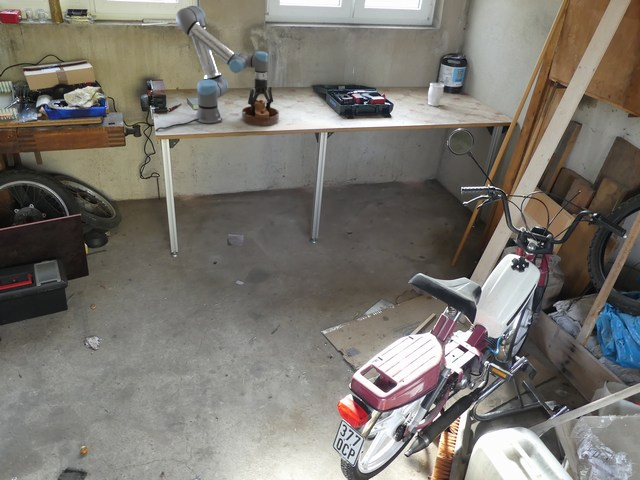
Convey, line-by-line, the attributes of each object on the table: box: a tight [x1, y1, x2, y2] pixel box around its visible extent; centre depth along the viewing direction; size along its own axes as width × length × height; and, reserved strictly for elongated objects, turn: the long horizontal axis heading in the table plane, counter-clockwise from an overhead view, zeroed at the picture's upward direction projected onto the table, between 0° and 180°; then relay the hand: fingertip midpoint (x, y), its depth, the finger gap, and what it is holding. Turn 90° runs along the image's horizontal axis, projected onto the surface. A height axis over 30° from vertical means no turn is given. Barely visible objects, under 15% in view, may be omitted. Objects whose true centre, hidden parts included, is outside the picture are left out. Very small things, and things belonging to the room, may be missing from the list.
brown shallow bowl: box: [241, 105, 280, 127], centre depth 335 cm, size 23×23×6 cm
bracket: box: [254, 98, 269, 118], centre depth 333 cm, size 18×8×7 cm, turn 19°
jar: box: [427, 82, 445, 107], centre depth 391 cm, size 11×10×15 cm
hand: (260, 114), depth 335 cm, fingers closed on bracket, 9 cm apart
